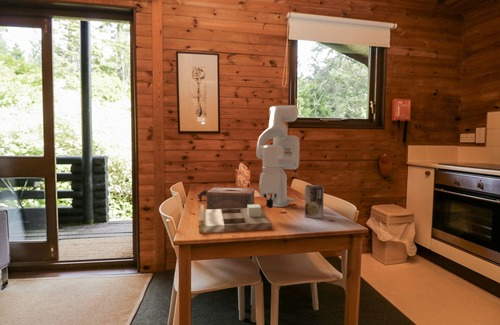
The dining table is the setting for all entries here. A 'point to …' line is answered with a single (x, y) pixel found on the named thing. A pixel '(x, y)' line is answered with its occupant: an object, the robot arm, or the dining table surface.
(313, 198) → the coffee box
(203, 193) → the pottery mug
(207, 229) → the box
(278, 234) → the dining table surface
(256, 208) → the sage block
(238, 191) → the tissue box cover
